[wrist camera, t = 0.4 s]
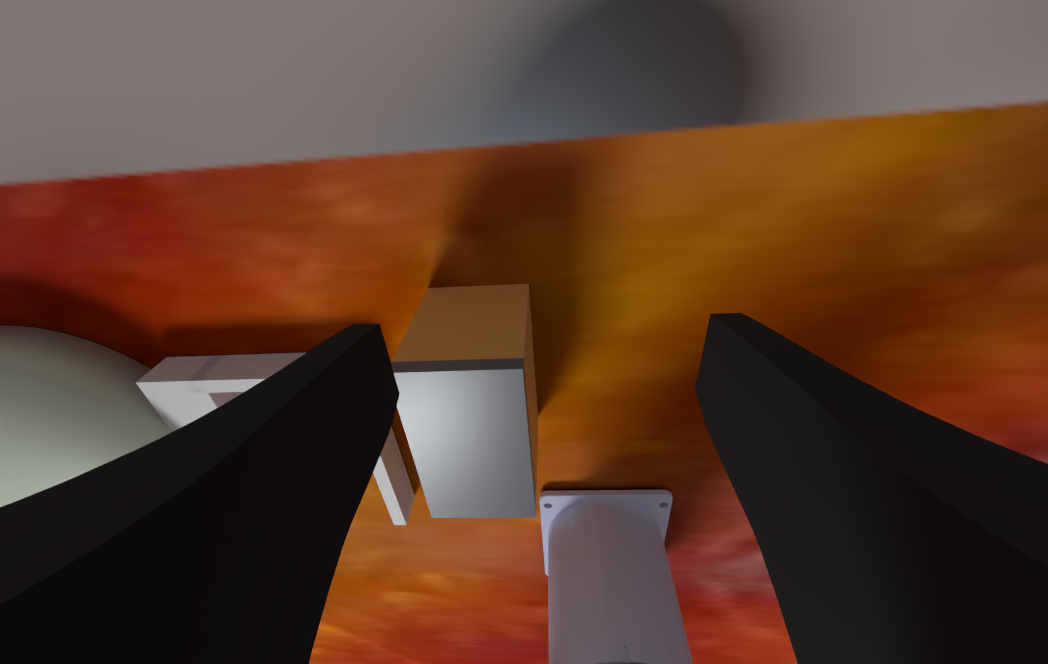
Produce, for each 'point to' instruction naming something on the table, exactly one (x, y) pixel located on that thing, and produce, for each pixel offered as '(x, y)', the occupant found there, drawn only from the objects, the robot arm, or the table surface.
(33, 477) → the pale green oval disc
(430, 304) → the rectangular flat-faced block
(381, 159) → the table surface
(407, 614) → the table surface
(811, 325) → the table surface
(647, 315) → the table surface
